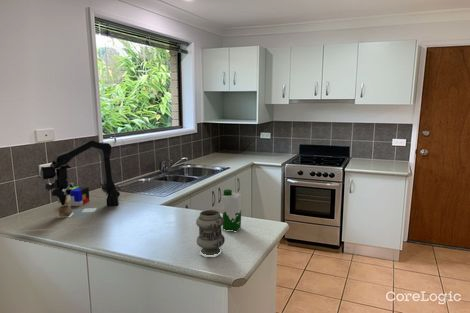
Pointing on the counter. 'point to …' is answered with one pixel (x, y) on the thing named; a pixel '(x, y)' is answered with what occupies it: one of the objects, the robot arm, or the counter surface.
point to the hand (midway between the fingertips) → (64, 203)
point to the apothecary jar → (210, 231)
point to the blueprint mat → (80, 212)
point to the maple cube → (67, 202)
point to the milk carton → (231, 210)
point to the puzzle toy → (79, 196)
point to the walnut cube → (65, 211)
